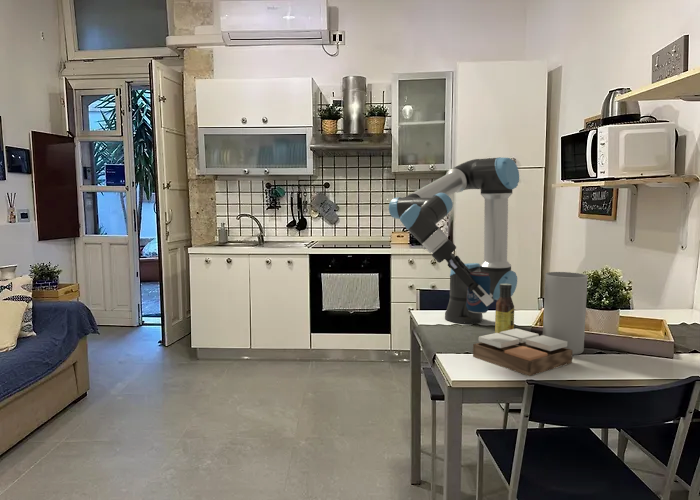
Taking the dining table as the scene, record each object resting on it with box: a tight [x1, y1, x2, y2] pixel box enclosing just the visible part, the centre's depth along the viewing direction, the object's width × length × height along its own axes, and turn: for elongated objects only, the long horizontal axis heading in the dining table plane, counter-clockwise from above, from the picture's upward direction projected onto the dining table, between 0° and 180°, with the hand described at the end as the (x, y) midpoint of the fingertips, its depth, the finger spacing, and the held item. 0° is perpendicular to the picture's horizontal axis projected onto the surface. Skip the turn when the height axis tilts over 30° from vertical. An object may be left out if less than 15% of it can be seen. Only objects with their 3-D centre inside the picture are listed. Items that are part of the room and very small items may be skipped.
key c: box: [526, 334, 567, 351], centre depth 151 cm, size 8×8×2 cm
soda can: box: [466, 272, 491, 314], centre depth 155 cm, size 7×7×12 cm
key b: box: [478, 332, 519, 348], centre depth 154 cm, size 8×8×2 cm
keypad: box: [472, 342, 573, 377], centre depth 153 cm, size 21×21×4 cm
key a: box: [500, 328, 540, 343], centre depth 159 cm, size 8×8×2 cm
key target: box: [504, 346, 547, 361], centre depth 146 cm, size 8×8×2 cm
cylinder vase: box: [542, 271, 589, 356], centre depth 162 cm, size 12×12×25 cm
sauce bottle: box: [494, 284, 515, 334], centre depth 173 cm, size 7×6×20 cm
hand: (489, 300), depth 155 cm, fingers closed on soda can, 7 cm apart
